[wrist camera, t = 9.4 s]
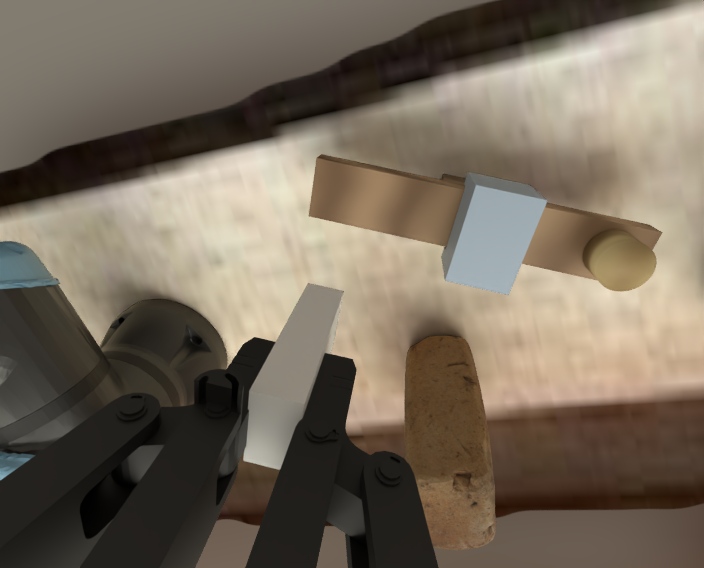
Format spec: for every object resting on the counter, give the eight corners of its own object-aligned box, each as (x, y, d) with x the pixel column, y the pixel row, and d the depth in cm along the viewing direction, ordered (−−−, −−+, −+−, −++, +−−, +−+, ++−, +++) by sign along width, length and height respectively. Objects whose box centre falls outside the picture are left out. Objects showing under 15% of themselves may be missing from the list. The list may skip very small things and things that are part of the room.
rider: (441, 256, 36) (445, 280, 31) (467, 171, 32) (476, 185, 28) (496, 269, 36) (508, 295, 31) (529, 184, 32) (547, 200, 28)
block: (404, 330, 47) (397, 478, 29) (471, 327, 46) (506, 480, 28) (412, 402, 52) (410, 568, 34) (473, 401, 50) (504, 574, 32)
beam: (324, 196, 41) (300, 226, 32) (332, 146, 39) (307, 164, 30) (597, 256, 40) (649, 305, 31) (621, 208, 38) (685, 245, 29)
